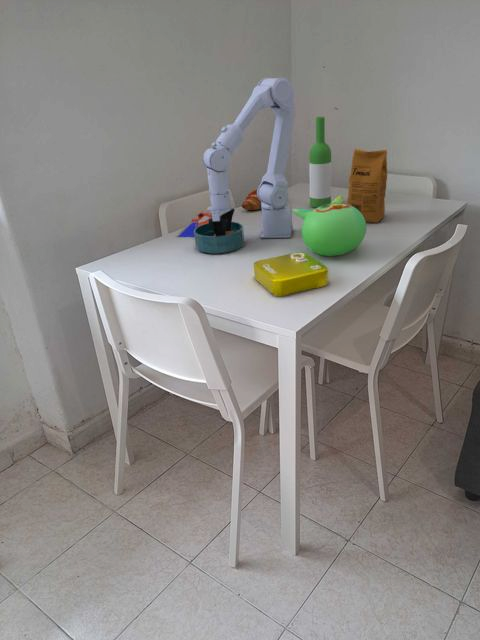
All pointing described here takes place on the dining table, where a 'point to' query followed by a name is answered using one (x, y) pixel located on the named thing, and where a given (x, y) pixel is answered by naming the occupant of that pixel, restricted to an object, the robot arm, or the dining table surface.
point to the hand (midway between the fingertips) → (224, 237)
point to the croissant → (252, 201)
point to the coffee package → (368, 184)
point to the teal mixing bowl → (218, 239)
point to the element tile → (290, 273)
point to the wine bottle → (320, 168)
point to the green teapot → (332, 228)
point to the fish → (196, 224)
